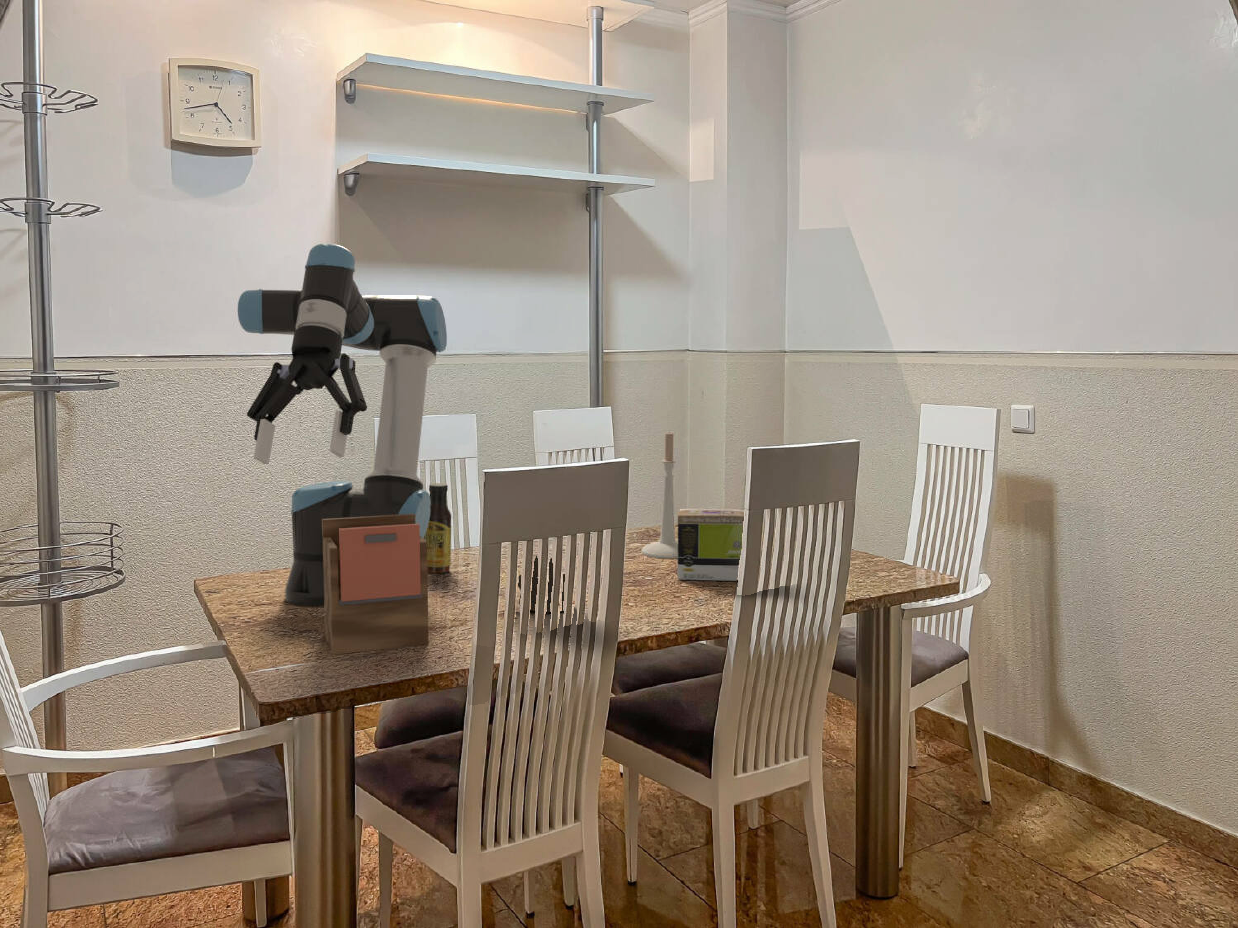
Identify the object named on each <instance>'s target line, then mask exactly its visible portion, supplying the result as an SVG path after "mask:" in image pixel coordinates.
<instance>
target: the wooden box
mask: <svg viewBox="0 0 1238 928" xmlns="http://www.w3.org/2000/svg"><path fill="white" fill-rule="evenodd" d="M403 524H415V514H399V515H382V516H365V517H348V518H331V519H322V542H323V577H324V606H323V608H324V609H323V610H324V636H325V639H326V641H327V644H328V647H329V648H330V651H331V654H332V655H340V654H341V655H342V654H343V655H344V654H349V653H350V654H353V653H358V652H359V653H360V652H367V651H368V652H369V651H377V650H378V651H379V650H387V649H397V648H404V647H405V648H406V647H415V646H416V647H417V646H422V645H429V643H430V642H429V595H428V592H429V590H428V588H429V587H428V583H429V582H428V579H429V578H428V573H427V541H426V540H424V539H423V538H422V537H421V536H420V584H421V592H422V598H417V599H406V600H395V601H384V602H373V603H363V604H352V605H341V606H340V605H339V599H341V585H340V547H339V528H355V527H371V526H387V525H403Z"/></svg>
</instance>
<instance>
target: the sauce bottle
mask: <svg viewBox="0 0 1238 928" xmlns="http://www.w3.org/2000/svg"><path fill="white" fill-rule="evenodd" d="M428 485H429V486H428V490H429V496H430V500H431V505H430V509H431V511H430V519H429V523H428V527H427V530H426V533H425V536H424V538H423V539H424V540H426V541H427V574H436V575H441V574H445V573H448V572H450V569H451V568H450V567H451V563H452V562H451V559H452V557H451V556H452V514H451V511H450V509H449V508H448V505H447V502H448V501H447V497H448V496H447V495H448V494H447V492H448V488H449V487H448V484H447V483H440V482H439V483H438V482H436V483H429V484H428Z"/></svg>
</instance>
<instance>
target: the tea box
mask: <svg viewBox="0 0 1238 928" xmlns="http://www.w3.org/2000/svg"><path fill="white" fill-rule="evenodd" d="M743 521H744V508H690V507H688V508H684V507H683V508H679V510H678V514H677V542H678V558H677V580H682V581H683V580H684V581H685V580H686V581H687V580H688V581H723V582H724V581H728V582H730V581H731V582H738V581H737V577H738V565H739V560H740V555H741V549H742V533H743Z"/></svg>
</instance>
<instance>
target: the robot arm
mask: <svg viewBox="0 0 1238 928" xmlns="http://www.w3.org/2000/svg"><path fill="white" fill-rule="evenodd" d="M355 261H356V259H355V256H354V254H353V253H352V252H351V251H350V250H349V249H347V248H345V247H344V246H342V245H338V244H334V243H320V244H315V245H314V246H312V248H311V249H310V250H309V252H308V256H307V260H306V264H305V265H304V275H303V283H302V289H300V290H295V289H294V290H293V289H292V290H291V289H289V290H288V289H262V288H259V289H249V290H245V291H243V292H242V293H241V294H240V296H239V299H238V303H237V318H238V322H239V324H240V326H241V328H242V329H243V330H244V331H245V332H246V333H250V334H260V335H264V334H267V335H269V334H274V335H284V336H285V335H288V336H293V339H292V344H291V348H290V349H291V354H292V359H291V361H290V363H289V364H281V363H280V362H278V361H276V362H274V364H273V365H272V368H271V372H270V374H269V377H268V378H267V380H266V382H265V383H264V384H263V386H262V388H261V389H260V391H259V393H258V395H257V396H256V398H255V399H254V401H253V403H252V405H251V406H250V407H249V409H248V411H247V412H246V416H247V417H248V418H250V419H251V420H253V421H255V422H256V426H255V431H254V436H253V438H254V441H256V443H255V448H254V454H253V459H254V460H256V461H258V462H260V463H261V464H263V465H268V464H269V463H270V458H271V454H272V453H271V451H272V446H273V441H274V437H275V436H274V435H275V431H276V424H273V422H275V419H277V418H278V417H279V415H280V414H281V413H282V412H283V411H284V409H286V407H287V406H288V405H289V404H290V403H291V401H292V400H293V399H294V398H295V397H296V396H298V395H301V394H302V393H303V391H311V390H313V389H318V390H319V389H320V390H321V389H322V390H323V387H325V389H326V390H327V391H328V393H329V394H330V395H331V397H332V398H333V400H334V401H335V402H336V404H337V405H338V408H339V409H340V410H336V411H335V412H334V413H335V414H334V420H333V427H332V433H331V439H330V444H329V445H330V446H329V452H331V453H332V454H334V455H335V456H336V457H338V458H344V457H345V454H346V452H345V451H346V445H347V438H348V435H351V434H352V431H353V424H354V417H355V416H356V414H357V413H359V412H361V413H362V412H366V411H367V409H368V405H367V403H366V399H365V397H364V394H363V391H362V388H361V385H360V383H359V380H358V377H357V374H356V361H355V360H354V359H353V358H351V356H349V355H348V354H347V353H342V347H343V346H344V347H349V348H353V349H357V350H364V351H371V352H372V351H379V352H378V353H379V356H380V358H381V359H382V360H383V361H384V362H385V366H384V367H385V369H384V375H383V385H382V395H381V402H380V403H381V404H380V412H379V419H378V430H377V437H376V438H377V439H376V446H375V447H376V448H375V453H374V454H375V457H374V464H373V471H372V472H371V473H370V474H368V475H367V476H365V477H364V483H363V488H353V487H354V485H353V484H352V481H350V480H336V481H335V480H334V481H326V482H319V483H314V484H309V485H305V486H302V487H298V488H297V489H295V490H294V491H293V493H292V496H291V509H290V513H291V529H292V530H291V531H292V532H291V533H292V553H293V554H292V555H293V561H292V565H291V568H290V571H289V575H288V578H287V581H286V585H285V590H284V591H285V592H284V593H285V594H284V595H285V597H284V598H285V601H286V602H287V603H289V604H290V605H296V606H303V607H324V577H323V542H322V519H331V518H348V517H365V516H382V515H399V514H415V524H419V525H420V536H421V537H422V538H424V536H425V533H426V530H427V527H428V523H429V519H430V511H431V509H430V505H431V500H430V493H429V492H428V491H427V490H425V489H424V483H423V481H422V480H421V479H420V478H419V476H418V475H417V474H418V464H419V463H418V462H419V456H420V455H419V454H420V446H421V437H422V426H423V416H424V406H425V405H424V404H425V396H426V387H427V375H428V368H429V367H431V366H433V365H434V364H435V363H436V361H437V353H442V352H444V351H445V350H446V348H447V345H448V344H447V343H448V340H447V339H448V335H447V325H446V319H445V318H446V317H445V313H444V310H443V307H442V304H441V303H440V301H439V300H438V299H437V298H436V297H434V296H431V295H429V296H427V295H419V294H416V295H374V294H372V295H371V294H370V295H362V293H360V290H359V287H358V284H357V283H356V282H355V280H354V273H355V271H356V269H355V265H356V262H355ZM341 353H342V354H341ZM338 370H340V373H341V376H342V379H343V383H344V385H345V387H346V391H347V394H348V397H349V399H348V397H347V396H346V395H345V393H344V392H343V390H342V389H341V388H340V386H339V384H338V382H337V381H336V380H335V378H334V375H335V374H336V373H337V371H338ZM293 383H295V385H294V384H293ZM341 410H342V411H341Z"/></svg>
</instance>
